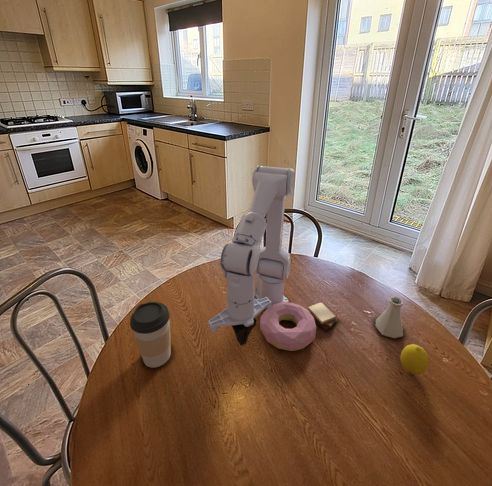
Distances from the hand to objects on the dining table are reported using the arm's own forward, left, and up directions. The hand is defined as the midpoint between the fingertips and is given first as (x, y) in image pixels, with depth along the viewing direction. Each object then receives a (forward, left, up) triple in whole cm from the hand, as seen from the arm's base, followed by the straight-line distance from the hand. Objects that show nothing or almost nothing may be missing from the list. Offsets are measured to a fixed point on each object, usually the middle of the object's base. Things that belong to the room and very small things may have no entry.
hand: (241, 341), depth 67 cm
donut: (-4, +17, -10) cm, 20 cm away
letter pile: (-3, +28, -9) cm, 30 cm away
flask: (+9, +42, -10) cm, 44 cm away
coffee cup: (-14, -17, -10) cm, 24 cm away
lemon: (+20, +35, -10) cm, 41 cm away
